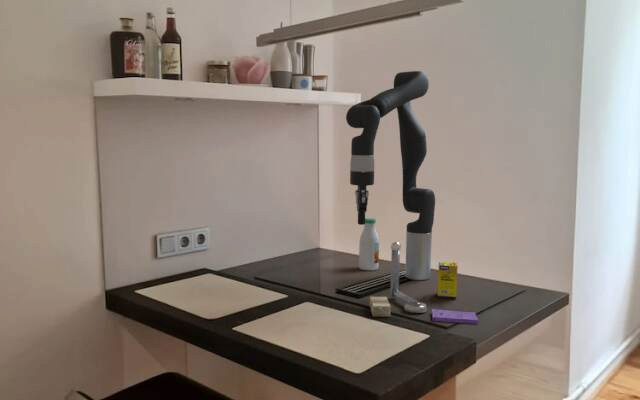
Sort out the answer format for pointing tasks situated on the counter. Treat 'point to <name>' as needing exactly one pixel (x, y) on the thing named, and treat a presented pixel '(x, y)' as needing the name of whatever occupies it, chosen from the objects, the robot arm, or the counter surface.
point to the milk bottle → (369, 246)
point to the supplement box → (447, 280)
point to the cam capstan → (411, 303)
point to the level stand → (380, 306)
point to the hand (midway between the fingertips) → (361, 224)
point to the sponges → (454, 316)
